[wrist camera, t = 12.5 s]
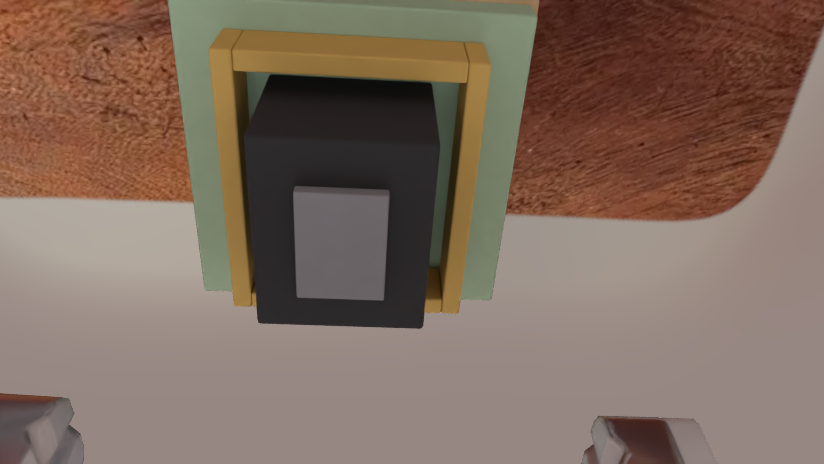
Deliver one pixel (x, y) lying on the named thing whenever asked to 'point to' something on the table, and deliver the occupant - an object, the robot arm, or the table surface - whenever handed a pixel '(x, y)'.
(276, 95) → the black block
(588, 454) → the robot arm
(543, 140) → the table surface
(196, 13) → the base pad
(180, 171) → the table surface
